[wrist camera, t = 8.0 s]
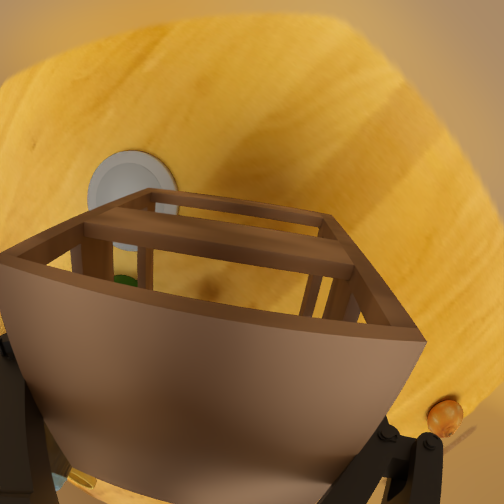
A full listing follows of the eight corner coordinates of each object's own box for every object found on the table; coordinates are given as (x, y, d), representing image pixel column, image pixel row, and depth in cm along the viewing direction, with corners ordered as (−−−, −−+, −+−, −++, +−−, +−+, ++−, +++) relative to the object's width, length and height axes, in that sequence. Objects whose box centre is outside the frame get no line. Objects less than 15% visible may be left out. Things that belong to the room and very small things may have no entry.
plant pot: (73, 453, 64) (62, 474, 55) (75, 443, 61) (62, 466, 51) (101, 470, 65) (91, 492, 56) (106, 461, 62) (95, 485, 53)
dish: (92, 240, 38) (87, 243, 37) (94, 148, 34) (89, 149, 33) (175, 255, 38) (172, 259, 37) (184, 154, 34) (181, 154, 32)
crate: (147, 336, 22) (72, 467, 10) (148, 187, 18) (-12, 259, 6) (293, 362, 22) (300, 518, 10) (331, 214, 18) (427, 341, 6)
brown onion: (417, 419, 44) (437, 447, 38) (449, 392, 42) (470, 420, 37) (423, 416, 49) (441, 441, 44) (451, 392, 48) (469, 416, 42)
